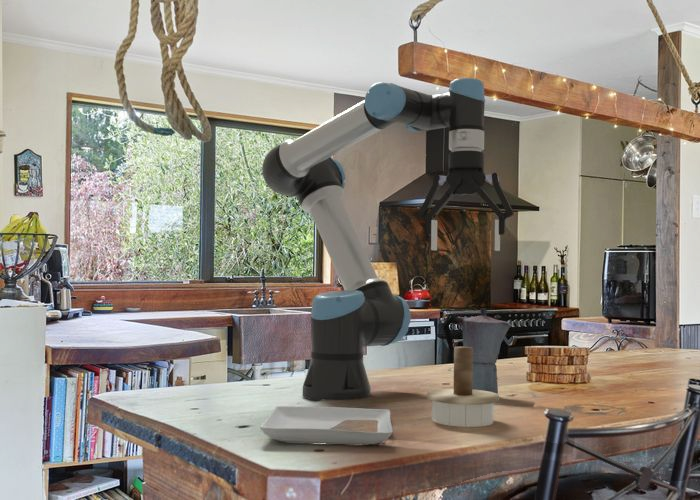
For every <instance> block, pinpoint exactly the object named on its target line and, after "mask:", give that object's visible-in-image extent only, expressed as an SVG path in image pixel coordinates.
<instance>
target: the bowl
mask: <svg viewBox="0 0 700 500" xmlns="http://www.w3.org/2000/svg"><path fill="white" fill-rule="evenodd" d="M431 421H432V422H434V423H436V424H440V425H443V426H444V425H445V426H450V427H452V426H453V427H462V428H463V427H464V428H467V427H468V428H472V427H473V428H475V427H486V426H490V425H491V426H492V424H494V422H495V403H490V404H476V405H467V404H450V403H442V402H436V401H432V400H431Z"/></svg>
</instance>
